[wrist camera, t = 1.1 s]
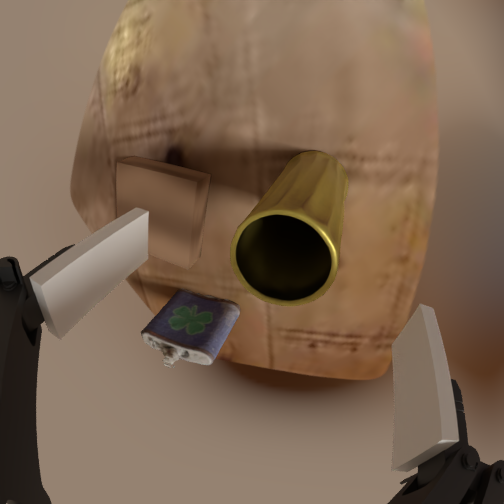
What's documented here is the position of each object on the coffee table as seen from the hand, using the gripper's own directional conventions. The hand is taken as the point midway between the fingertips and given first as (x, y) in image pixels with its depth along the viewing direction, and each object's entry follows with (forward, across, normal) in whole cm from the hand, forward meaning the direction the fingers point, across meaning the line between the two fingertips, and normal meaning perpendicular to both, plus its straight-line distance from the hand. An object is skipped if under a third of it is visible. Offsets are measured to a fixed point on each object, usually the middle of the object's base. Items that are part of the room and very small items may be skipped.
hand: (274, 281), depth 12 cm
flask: (+16, -8, -18) cm, 26 cm away
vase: (+16, 0, 0) cm, 16 cm away
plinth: (+16, -15, -6) cm, 23 cm away
